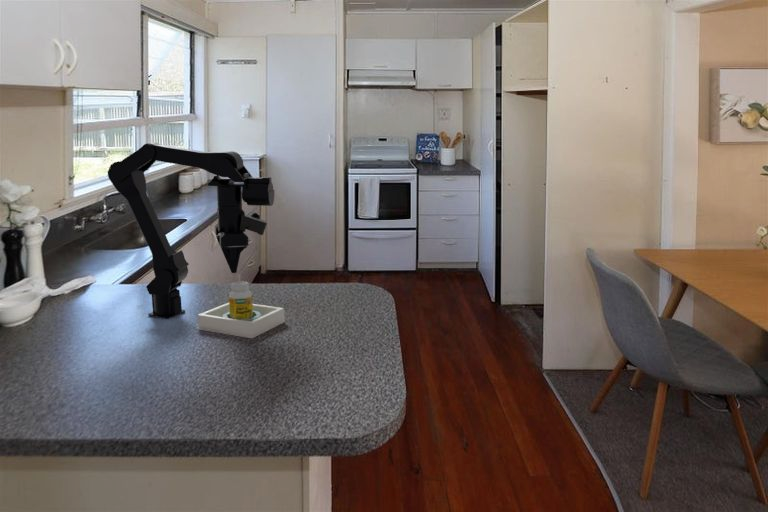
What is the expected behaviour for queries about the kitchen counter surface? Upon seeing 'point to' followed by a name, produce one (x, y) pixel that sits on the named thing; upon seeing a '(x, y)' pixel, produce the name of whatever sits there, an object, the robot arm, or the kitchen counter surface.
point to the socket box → (241, 321)
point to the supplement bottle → (240, 301)
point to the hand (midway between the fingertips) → (232, 268)
